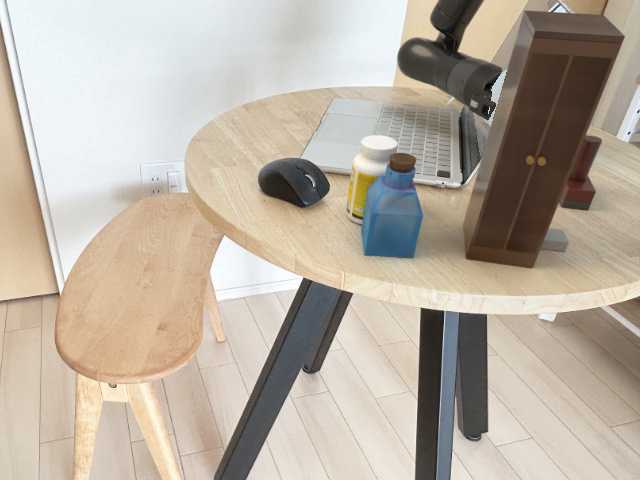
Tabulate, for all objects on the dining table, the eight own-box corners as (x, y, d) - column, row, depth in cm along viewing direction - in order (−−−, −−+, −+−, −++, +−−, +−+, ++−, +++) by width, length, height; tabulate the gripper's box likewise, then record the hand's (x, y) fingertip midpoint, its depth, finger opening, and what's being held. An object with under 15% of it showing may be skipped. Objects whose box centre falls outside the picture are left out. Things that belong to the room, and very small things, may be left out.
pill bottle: (399, 221, 79) (414, 146, 73) (362, 231, 77) (375, 155, 70) (372, 201, 84) (384, 129, 77) (337, 211, 82) (346, 137, 75)
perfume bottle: (361, 229, 78) (374, 146, 70) (407, 232, 77) (425, 148, 70) (364, 255, 73) (378, 168, 65) (413, 258, 72) (433, 171, 65)
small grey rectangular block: (537, 227, 76) (533, 236, 77) (542, 239, 73) (539, 249, 74) (562, 229, 75) (559, 238, 76) (569, 242, 73) (565, 251, 74)
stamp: (552, 182, 89) (573, 126, 83) (577, 185, 88) (600, 129, 83) (561, 207, 83) (584, 148, 77) (588, 210, 82) (613, 151, 76)
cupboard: (463, 223, 79) (524, 10, 62) (524, 231, 78) (603, 14, 61) (466, 261, 72) (536, 31, 55) (533, 271, 70) (627, 37, 53)
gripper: (451, 67, 93) (521, 99, 81) (520, 58, 97) (597, 88, 85) (440, 112, 98) (505, 149, 86) (507, 102, 102) (578, 136, 90)
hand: (551, 119), depth 86 cm, fingers open, 8 cm apart
